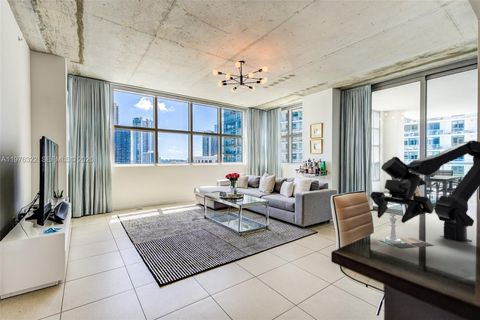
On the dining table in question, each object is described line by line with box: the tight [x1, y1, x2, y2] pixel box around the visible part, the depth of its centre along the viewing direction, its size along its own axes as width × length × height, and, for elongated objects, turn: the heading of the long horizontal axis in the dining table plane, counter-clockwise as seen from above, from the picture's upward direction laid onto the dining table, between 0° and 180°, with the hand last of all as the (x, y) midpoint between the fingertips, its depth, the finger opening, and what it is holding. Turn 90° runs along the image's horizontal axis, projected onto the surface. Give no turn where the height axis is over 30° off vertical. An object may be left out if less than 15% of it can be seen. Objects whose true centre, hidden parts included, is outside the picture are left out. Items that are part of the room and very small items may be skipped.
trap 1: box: [392, 244, 417, 249], centre depth 74 cm, size 6×3×1 cm, turn 102°
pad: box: [379, 238, 407, 246], centre depth 79 cm, size 7×5×1 cm
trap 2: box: [411, 241, 434, 248], centre depth 76 cm, size 6×3×1 cm, turn 102°
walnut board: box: [378, 237, 437, 250], centre depth 78 cm, size 15×8×1 cm, turn 102°
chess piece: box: [384, 212, 402, 244], centre depth 79 cm, size 5×5×10 cm
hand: (389, 219), depth 78 cm, fingers open, 8 cm apart
